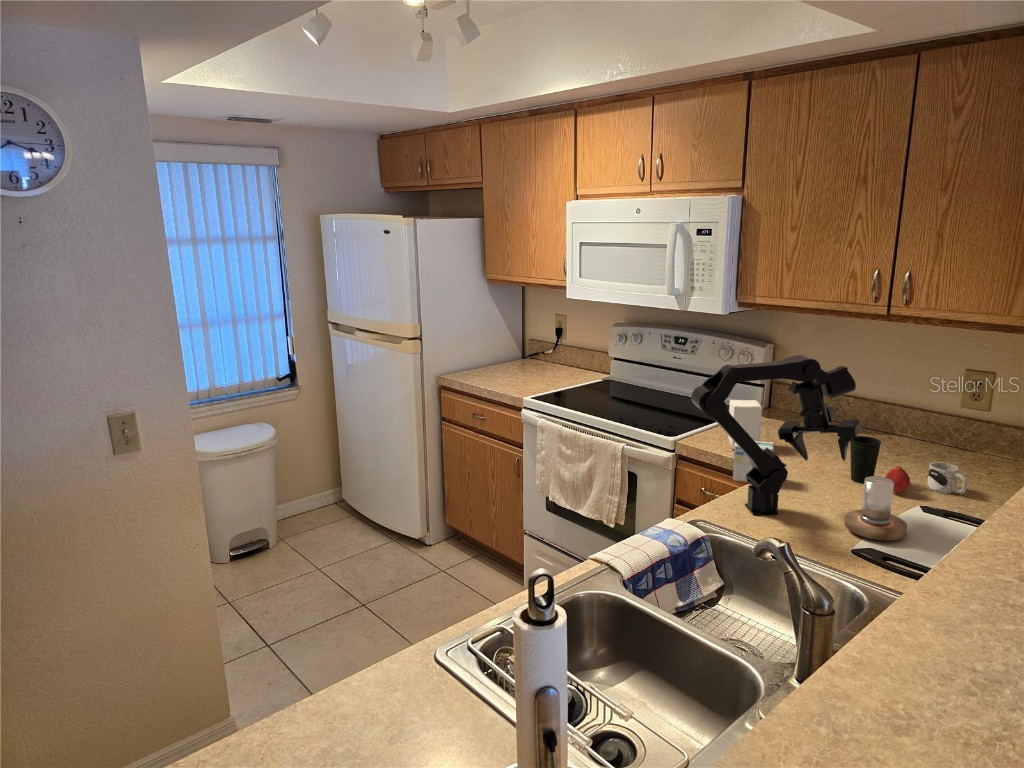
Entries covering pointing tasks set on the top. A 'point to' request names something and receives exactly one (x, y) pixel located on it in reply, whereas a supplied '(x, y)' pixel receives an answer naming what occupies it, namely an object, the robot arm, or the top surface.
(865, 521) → the canister
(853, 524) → the turntable
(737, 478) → the light bulb box
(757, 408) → the supplement box
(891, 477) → the onion
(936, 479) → the mug
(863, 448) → the cup
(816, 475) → the top surface
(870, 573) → the top surface
